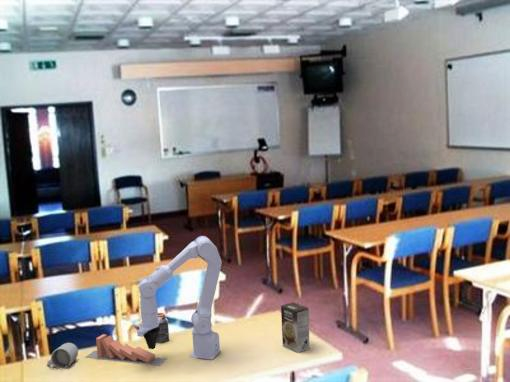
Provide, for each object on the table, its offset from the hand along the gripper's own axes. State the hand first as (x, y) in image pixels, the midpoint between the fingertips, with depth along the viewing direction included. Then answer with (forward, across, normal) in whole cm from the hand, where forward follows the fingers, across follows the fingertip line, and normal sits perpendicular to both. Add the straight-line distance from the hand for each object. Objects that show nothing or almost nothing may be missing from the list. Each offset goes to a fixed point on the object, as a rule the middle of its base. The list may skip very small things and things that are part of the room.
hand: (151, 348), depth 211 cm
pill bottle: (+5, -18, -6) cm, 20 cm away
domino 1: (+5, 0, -22) cm, 22 cm away
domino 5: (+4, 0, 0) cm, 4 cm away
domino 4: (+4, 0, -6) cm, 7 cm away
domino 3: (+4, 0, -11) cm, 12 cm away
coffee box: (+5, -24, +48) cm, 54 cm away
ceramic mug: (+6, +10, -32) cm, 34 cm away
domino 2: (+4, 0, -16) cm, 17 cm away
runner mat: (+5, 0, -12) cm, 13 cm away
